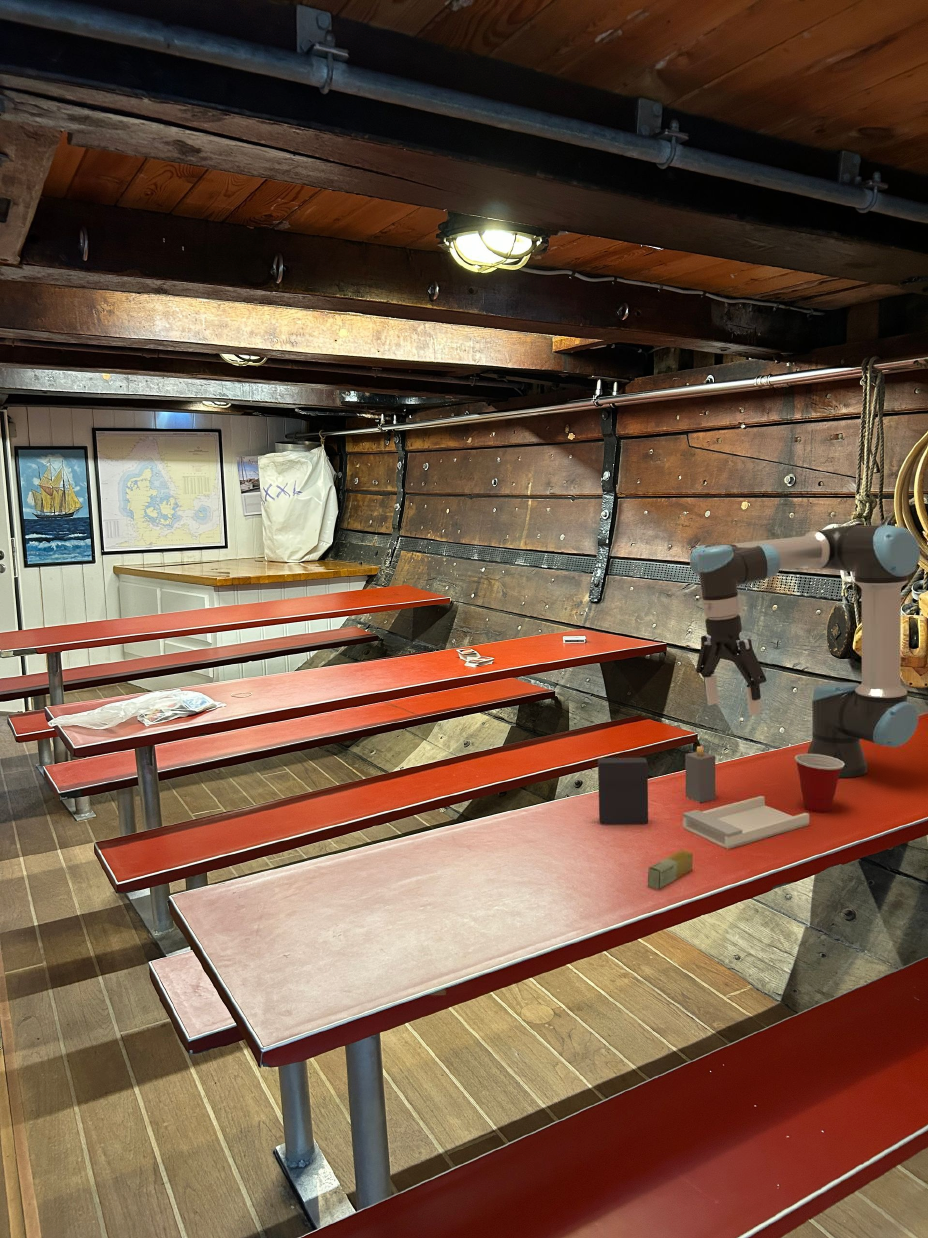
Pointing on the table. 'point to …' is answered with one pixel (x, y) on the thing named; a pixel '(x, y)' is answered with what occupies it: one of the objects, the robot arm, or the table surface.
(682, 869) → the medication box
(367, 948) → the table surface
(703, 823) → the tray
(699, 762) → the grey bottle with cork
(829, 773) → the plastic cup
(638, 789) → the calculator
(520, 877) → the table surface
